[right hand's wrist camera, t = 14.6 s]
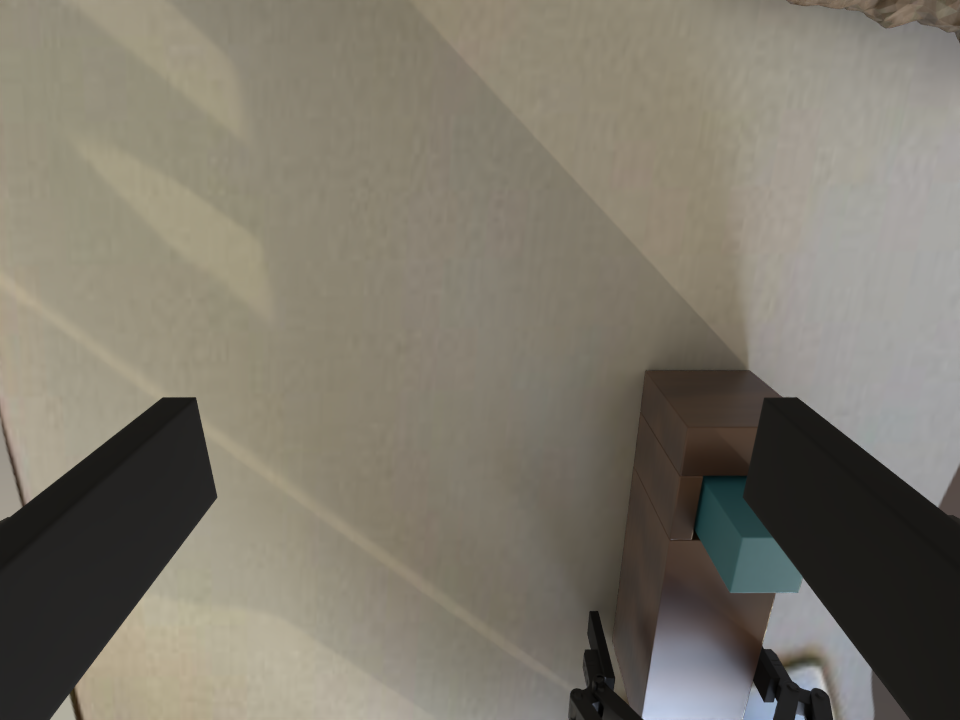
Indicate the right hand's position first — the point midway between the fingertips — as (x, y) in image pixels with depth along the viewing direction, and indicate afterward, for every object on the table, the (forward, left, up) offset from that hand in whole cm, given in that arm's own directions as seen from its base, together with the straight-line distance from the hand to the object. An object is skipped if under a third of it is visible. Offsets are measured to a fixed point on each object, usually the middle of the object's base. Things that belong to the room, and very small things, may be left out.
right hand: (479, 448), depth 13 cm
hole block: (+18, +22, -27) cm, 39 cm away
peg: (+10, +20, -27) cm, 35 cm away
